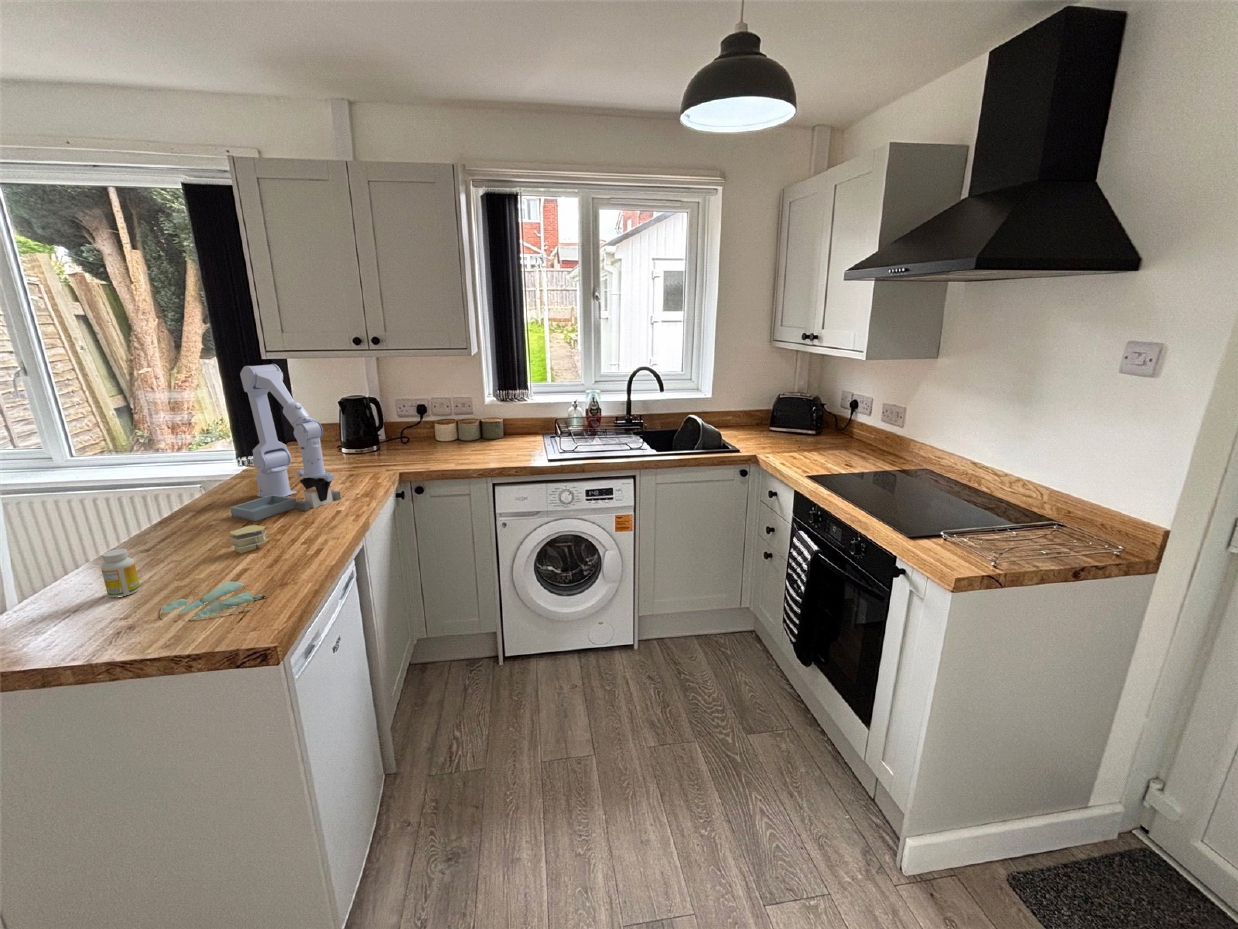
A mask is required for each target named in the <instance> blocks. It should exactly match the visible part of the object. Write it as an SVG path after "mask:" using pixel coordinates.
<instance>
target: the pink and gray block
mask: <svg viewBox="0 0 1238 929" xmlns="http://www.w3.org/2000/svg"><path fill="white" fill-rule="evenodd" d="M331 490H332V488H331V485H330V486H329V489H328V494H327V500H325V501H322V502H321V501H320V500H319V497H318V493H317V490H316V488H315V487H312V488H309V489H304V490H303V495H304V501H306V502H309V506H310V509H312V508H313V509H315V508H318V507H321V506H323V505H327V504H330V503H332V502H333V501H334V499H332V493H331Z"/></svg>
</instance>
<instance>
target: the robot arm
mask: <svg viewBox="0 0 1238 929" xmlns="http://www.w3.org/2000/svg"><path fill="white" fill-rule="evenodd" d="M239 375H240V379H241V383H242V388H243V391H244V392H245V393H247V395H248V400H249V404H250V408H251V411H252V417H253V421H254V425H255V428H256V429H255V430H256V432H257V436H258V437H257V438H258V441H259V443H258V444H257V445H256V446H255V447H254V448H253V449H252V457H253V458H252V464H253V466H254V468H255V469H256V470H257V471H258V473H257V474H256V484H257V489H258V494H257V495H256V496H257V497H258V498H259V497H260V498H263V497H266V496H269V495H279V496H285V497H289V496H292V495H295V494H297V493H298V492H297V491H296V490H291V487H290V486H291V485H290V480H289V475H288V469H289V466H290V465H291V463H292V456H291V453H290V451H289V450H288V447H287V445H286V444H285V443H283V442H282V441H279V440H278V435H277V431H276V428H275V422H274V418H273V414H272V411H271V406H270V401H269V398H268V393H269V392H270V393H271V395H272V396H273V397H274V398H275V399H276V400H277V402H278V403H279V404H281V406H282V407H283V409H282V413H283V415H284V416H285V418H286V420H288V422H289V423H290V424H291V426H292V427H293V436H294V438H295V439H296V441H297V445H298V447H300V454H301V460H302V466H303V469H299V470H295V471H296V476H297V478H300V477H302V479H300V480H299V482H300V483H301V485H302V486H303V488H305V489H304V490H306V489H309V488H312V487H315V488H316V490H317V493H318V497H319V500H320V501H321V502H322V501H325V500H327V494H328V489H329V486H331V484H332V481H334V480H335V475H334V474H333V473H330V472H328V471H326V470H325V465H324V464H325V463H324V456H323V451H322V443H321V438H322V437H323V435H324V428H323V426H322V424H321V422H320V421H318V420H317V419H315V418H314V417H313V418H312V417H311V416H310V414H309V413H308V411H306V409H305V408H304V407H303V405H302V404H301V403H300V402H297V401H295V400H294V399H293V397H292V395H291V393H290V392H289V390H288V389H287V388H288V387H286V385H285V383H284V382H283V381H284V373H283V371H282V370H281V368H280V367H279V366H278V365H277V364H275V363H271V364H262V365H245V366H243V368H242V369H241V371H240V372H239Z"/></svg>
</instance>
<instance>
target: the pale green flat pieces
mask: <svg viewBox="0 0 1238 929" xmlns="http://www.w3.org/2000/svg"><path fill="white" fill-rule="evenodd" d="M243 585H244V586H245V584H244V583H241V582H239V581H230V580H228V581H226V582H224V583H222V584H221V585H219V586H218V587H216V588H215V589H213V590H212V591H210V592H208V593H206V594H204V595H203V596H202V597H201V598H200V600H199V599H196V600H193V601H194V602H193V603H192V604H190V605H187V603H189V600H185V599H183V598H180V599H176V600H174V601H172V602H170V603H168V604H164V605H163V606H164V607H162V606H161V607H162V609H163V611H162V612H161V613H168V612H171V611H172V610H173V611H174V610H175V609H179V608H180V607H182V606H187V607H185V608H184V609H182V610H181V611H180V612H179V613H181V614H182V613H187V612H189V611H192V610H193V609H197V608H199V607H200V606H206V605H204V603H206V602H211V601H214V600H215V599H218V600H220V599H221V598H220V597H222V596H224V597H226V596H228V595H231V594H233V593H232V592H234V593H235V592H237V591H239V590H240V588H241V587H242V588H244V587H243ZM242 588H241V589H242ZM238 589H239V590H238ZM236 590H237V591H236ZM230 593H231V594H230ZM227 594H228V595H227ZM251 595H252V594H251V592H250V590H247V591H244V592H242V593H239V594H237V595H235V596H232V597H228V598H226V599H223V600H222V601H219V602H216V601H214V602H211V603H209V605H208V606H207V607H206V608H205V609H204V610H202V611H200V612H198V613H197V614H196V615H193V616H197V617H193V618H191V619H196V618H199V619H200V618H202V617H208V616H218V615H224V614H211V615H209V613H218V612H219V611H224V610H225V609H233V608H236V607H232V606H239V605H241V604H244V603H248V602H254V599H259V598H264V597H267V596H266V595H265V594H262V593H260V594H258V595H256V596H255V597H252V596H251ZM219 598H220V599H219ZM222 598H223V597H222ZM245 609H252V608H245ZM242 610H243V609H242ZM235 612H240V611H239V610H238V611H234V613H235ZM228 613H233V612H228Z"/></svg>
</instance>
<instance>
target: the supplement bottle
mask: <svg viewBox="0 0 1238 929" xmlns="http://www.w3.org/2000/svg"><path fill="white" fill-rule="evenodd" d="M102 561H104V563H103V564H101V567H100V570H101V574H102V578H103V581H104V585H105V590H106V593H107V596H108V597H109V598H111V597H118V596H126V595H128V594H130V593H133V592H135V591H137V590H138V589H139V590H140V588H141V584H140V580H139V577H138V572H137V567H136V564H135V560H134V559H133V558H131V557H129V552H128V550H127V549H126V548H117V549H113V550H109V551H106V552H104V553H102ZM137 592H138V591H137ZM126 597H127V596H126Z"/></svg>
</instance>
